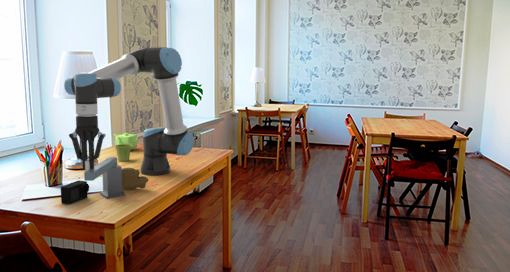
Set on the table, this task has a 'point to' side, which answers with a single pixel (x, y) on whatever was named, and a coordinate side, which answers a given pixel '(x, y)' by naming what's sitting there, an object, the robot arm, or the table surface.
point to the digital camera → (74, 192)
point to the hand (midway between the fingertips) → (88, 177)
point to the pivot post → (112, 183)
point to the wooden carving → (132, 179)
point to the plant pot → (123, 151)
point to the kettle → (127, 139)
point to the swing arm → (100, 168)
